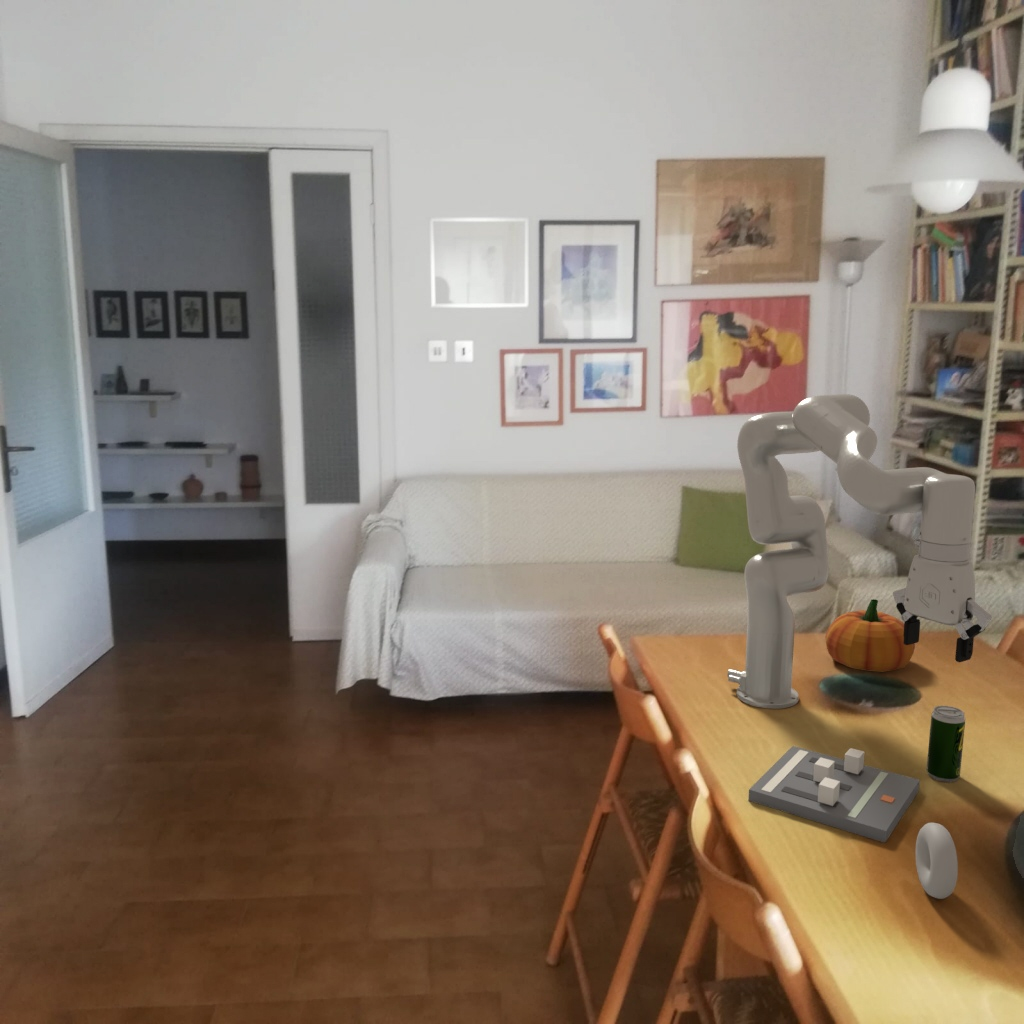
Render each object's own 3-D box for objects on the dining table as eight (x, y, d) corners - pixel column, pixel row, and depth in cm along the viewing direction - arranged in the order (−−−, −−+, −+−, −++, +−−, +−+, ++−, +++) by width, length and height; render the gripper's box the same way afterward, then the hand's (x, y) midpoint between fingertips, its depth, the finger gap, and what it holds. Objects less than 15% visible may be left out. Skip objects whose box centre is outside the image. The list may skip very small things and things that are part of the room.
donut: (958, 915, 127) (964, 848, 125) (931, 913, 127) (937, 846, 125) (934, 872, 137) (940, 809, 135) (909, 871, 137) (915, 808, 135)
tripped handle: (813, 780, 159) (814, 763, 158) (819, 773, 161) (820, 757, 161) (827, 784, 158) (828, 767, 157) (833, 777, 160) (834, 761, 159)
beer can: (927, 780, 164) (933, 715, 161) (924, 766, 169) (930, 703, 166) (961, 785, 162) (968, 719, 159) (957, 770, 167) (963, 707, 164)
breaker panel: (748, 800, 157) (749, 770, 156) (792, 755, 173) (793, 728, 172) (885, 842, 144) (887, 810, 143) (918, 790, 160) (921, 761, 159)
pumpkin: (820, 671, 214) (824, 608, 211) (827, 644, 231) (831, 585, 228) (913, 683, 206) (918, 618, 203) (912, 654, 224) (917, 593, 221)
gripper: (883, 543, 158) (877, 641, 162) (979, 565, 144) (970, 672, 147) (913, 538, 162) (906, 633, 166) (1009, 558, 148) (999, 663, 151)
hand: (936, 651), depth 156 cm, fingers open, 9 cm apart
